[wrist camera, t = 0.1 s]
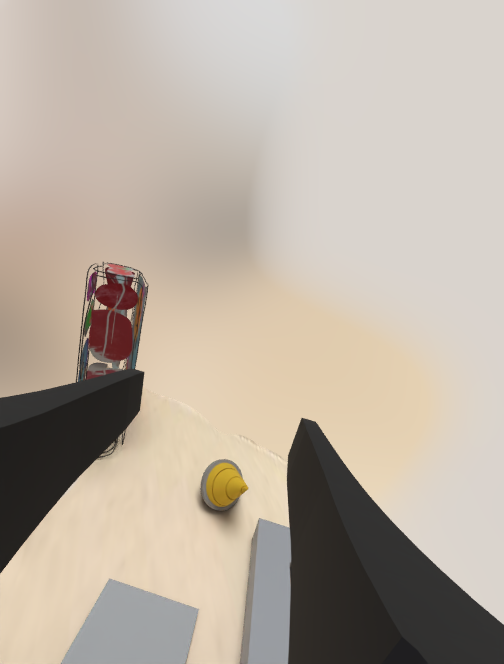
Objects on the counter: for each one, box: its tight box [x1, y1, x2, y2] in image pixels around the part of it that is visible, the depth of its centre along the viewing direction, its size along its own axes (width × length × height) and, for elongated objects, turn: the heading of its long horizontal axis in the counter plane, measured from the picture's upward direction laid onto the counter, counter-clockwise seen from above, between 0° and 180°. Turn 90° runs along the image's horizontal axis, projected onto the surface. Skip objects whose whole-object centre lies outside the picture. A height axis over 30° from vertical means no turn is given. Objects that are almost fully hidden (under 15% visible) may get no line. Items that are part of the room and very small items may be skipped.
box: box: [76, 262, 148, 458], centre depth 31 cm, size 25×6×24 cm, turn 29°
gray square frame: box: [240, 518, 291, 664], centre depth 19 cm, size 13×13×3 cm
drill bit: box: [201, 459, 248, 511], centre depth 28 cm, size 5×5×10 cm
